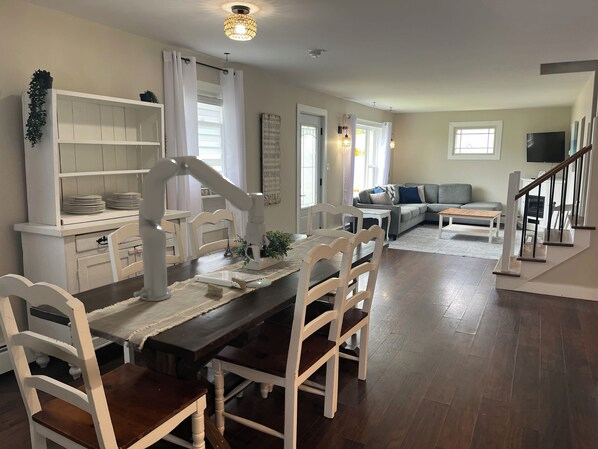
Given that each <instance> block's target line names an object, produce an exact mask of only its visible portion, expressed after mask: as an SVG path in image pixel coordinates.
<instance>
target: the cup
mask: <svg viewBox="0 0 598 449" xmlns="http://www.w3.org/2000/svg"><path fill="white" fill-rule="evenodd" d="M262 246H264V245H262ZM248 247H251V248H252V250H253V254H252V255H253V258H251V257H250V255H247V248H248ZM260 250H261V248H260V246H259V245H255V244H252V246H246V248H245V253H244V254H245V256H246V257H247V258H248V259H249V260H251V261H253V262H254V263H255V262H256V263H262V262H264V259H265V257H264V258H260Z"/></svg>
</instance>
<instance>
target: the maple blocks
mask: <svg viewBox="0 0 598 449" xmlns="http://www.w3.org/2000/svg"><path fill="white" fill-rule="evenodd" d="M230 278H231V279H230V280H231V282H232V281H233V282H236V283H238V284H239V285H240V287H241V289H240V290H243V289H244V291H246V290H247V287H246V281H245V279H241V278H237V277H234V276H233V277H230ZM245 289H246V290H245ZM207 293H209V294H211V295H213V296H215V297H219V298H222V297H223V296H224V292H223V287H221V286H218V285H215V284H212V283H207Z"/></svg>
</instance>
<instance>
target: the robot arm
mask: <svg viewBox="0 0 598 449" xmlns="http://www.w3.org/2000/svg"><path fill="white" fill-rule="evenodd" d="M180 176H181V177H182V176H191V177H192V178H193V179H195V180H196V181H197V182H199V183H201V185H202V186H204V187H206V189H208V190H209V191H210V192H212V193H214V194H215V195H218V196H220V197H221V198H223V199H225V200H226V201H227V202H229V203H230V206H231V207H233V208H234V209H236V210H239V211H240V212H247V222H246V226H245V227H246V228H245V235H244V236H243V239H244V242H245V244H246V245H245V246H246V248H247V247H248V246H252V244H255V245H259V246H260V248H261V250H260V258H264V259H265V258H266V257H267V249H268V247H269V245H270V243H271V241H270V240H269V239H268V237H267V229H266V228H267V227H266V222H265V195H264V194H263V193H262V192H251V193H248V192H245V191H244V190H243V189H242V188H240V187H239V186H237V185H236V184H235V183H233V182H232V181H231V180H230V179H229V178H227V177H226V176H224V175H223V174H222V173H220V172H219V171H217V170H216V169H215V168H214V167H213V166H211V165H210V164H209V163H208V162H206V161H205V160H204V159H202V158H201V157H199V156H196V155H183V156H173V157H172V156H170V157H161V158H159V159H157V160H156V161H155V163H154V165H153V166H152V167H151V168H150V169H149V171H148V172H147V174H146V176H145V178H144V182H143V193H142V194H143V196H142V198H143V199H142V200H141V202H140V203H139V207H138V235H139V237H140V239H141V242H142V263H143V264H142V265H143V266H142V267H143V285H144V286H143V287H141V289H140V291H135V292H133V297H134V298H136V297H139V298H141V300H144V301H146V302H158V301H165V300H167V299H169V298H171V297H172V291H170V290H168V289H169V288H168V273H167V272H168V270H167V269H168V266H167V234H166V231H165V229H164V228H163V227H162V219H163V218H164V216H165V212H166V207H165V206H166V204H165V203H166V201H165V199H166V186H167V184H168V182H169V181H170V180H171V179H173V178H175V177H180ZM262 245H264V246H262ZM246 253H247V255H248V256H251V255H253V250H252V248H251V247H248V248H247V251H246Z"/></svg>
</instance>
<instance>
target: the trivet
mask: <svg viewBox="0 0 598 449" xmlns="http://www.w3.org/2000/svg"><path fill="white" fill-rule="evenodd" d="M263 278H264V279H262V280H259V281H256V282H252V283H249V284H246V286H247V287H246V288H250V287H256V288H255V289H259V288H266V287H269V286H271V285H272V280H271V279H270V278H269V279H268V278H265V277H263Z"/></svg>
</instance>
